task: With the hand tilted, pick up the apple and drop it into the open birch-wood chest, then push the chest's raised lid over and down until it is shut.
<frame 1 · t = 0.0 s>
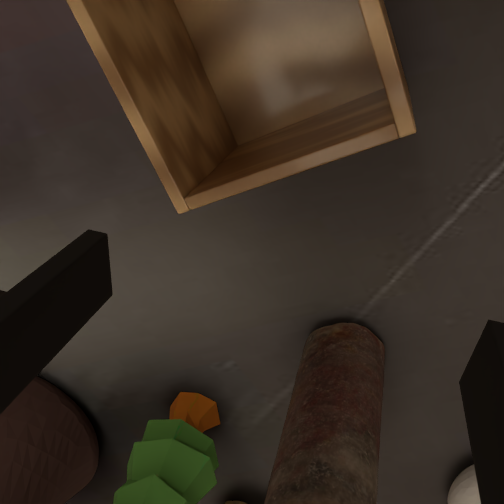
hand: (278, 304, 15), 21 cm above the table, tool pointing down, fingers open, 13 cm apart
decorative tree: (200, 410, 53), on the table
chest: (275, 16, 31), on the table
vase: (28, 426, 65), on the table
brown upright cylinder: (343, 345, 43), on the table
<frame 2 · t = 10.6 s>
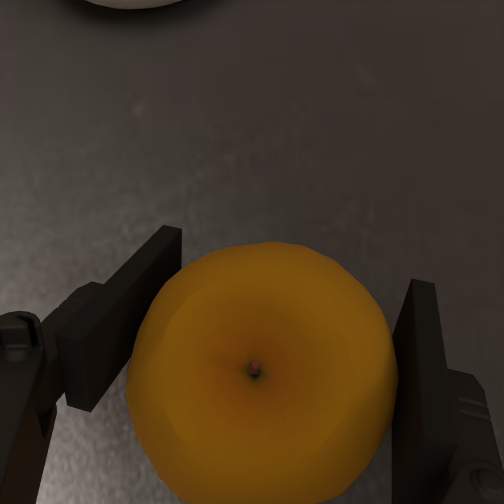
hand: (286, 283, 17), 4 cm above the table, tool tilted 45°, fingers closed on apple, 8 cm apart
apple: (271, 372, 20), on the table, touching gripper
when the fingers open (11 cm above the table, at t = 21.7 s): apple drops 6 cm, resting on chest.
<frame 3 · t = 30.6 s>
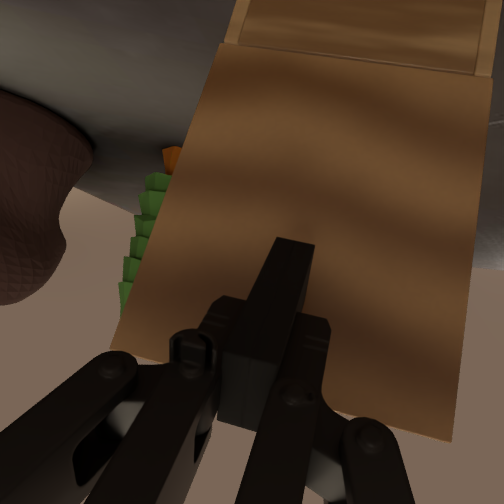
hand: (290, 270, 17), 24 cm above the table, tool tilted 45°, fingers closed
decorative tree: (186, 156, 70), on the table
vase: (20, 124, 75), on the table
lid: (313, 208, 20), point 20 cm above the table, hinge at 94.6°, touching gripper
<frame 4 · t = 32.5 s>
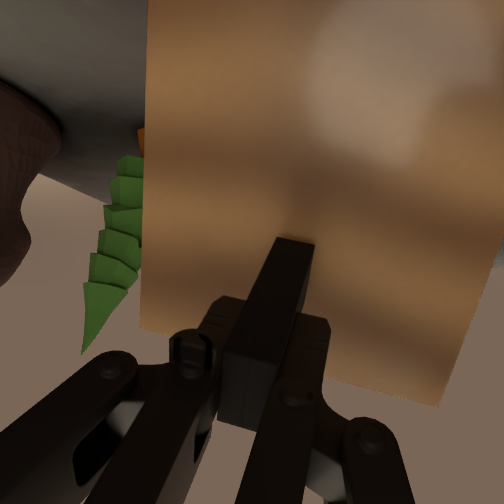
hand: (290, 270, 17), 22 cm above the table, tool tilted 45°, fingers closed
decorative tree: (165, 138, 61), on the table
lid: (313, 184, 17), point 19 cm above the table, hinge at 52.1°, touching gripper
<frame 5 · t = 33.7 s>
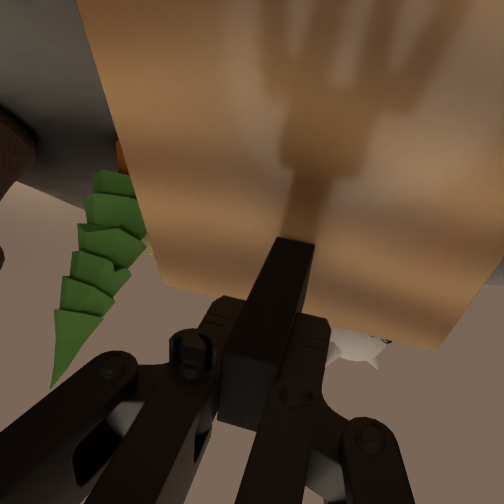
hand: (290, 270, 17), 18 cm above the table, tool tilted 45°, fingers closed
decorative tree: (146, 150, 57), on the table
decorative figurine: (377, 238, 66), on the table
lid: (307, 189, 16), point 15 cm above the table, hinge at 22.9°, touching gripper
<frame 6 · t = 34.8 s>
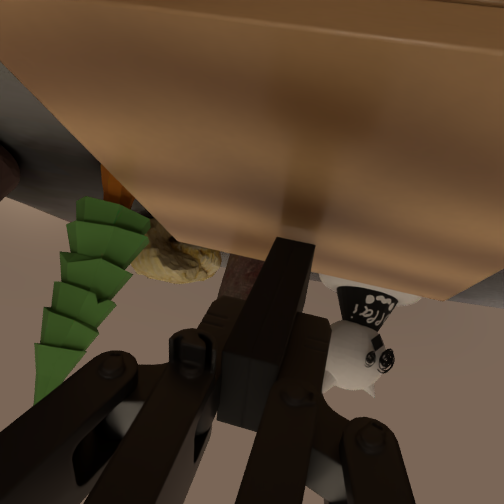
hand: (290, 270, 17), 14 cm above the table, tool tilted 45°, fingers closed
decorative tree: (132, 173, 54), on the table
decorative figurine: (374, 261, 64), on the table
beige rounded lump: (183, 229, 75), on the table
brown upright cylinder: (287, 183, 45), on the table
lid: (302, 202, 15), point 12 cm above the table, hinge at -0.2°, touching chest, gripper
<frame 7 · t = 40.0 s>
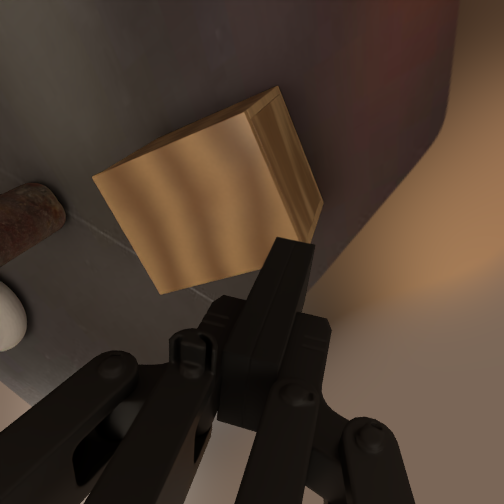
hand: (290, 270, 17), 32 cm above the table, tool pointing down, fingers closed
chest: (239, 170, 51), on the table
brown upright cylinder: (45, 203, 61), on the table
lid: (197, 214, 41), point 12 cm above the table, hinge at -0.2°, touching chest
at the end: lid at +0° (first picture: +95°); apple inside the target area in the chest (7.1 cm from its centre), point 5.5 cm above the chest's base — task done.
